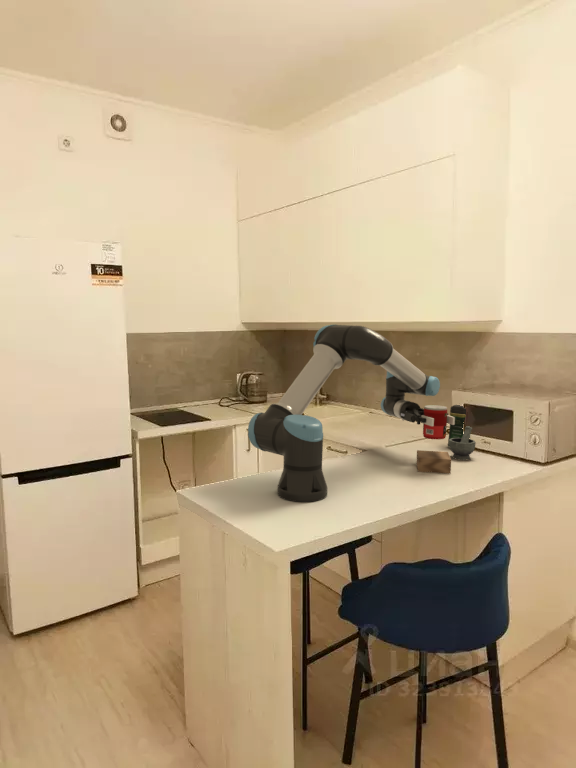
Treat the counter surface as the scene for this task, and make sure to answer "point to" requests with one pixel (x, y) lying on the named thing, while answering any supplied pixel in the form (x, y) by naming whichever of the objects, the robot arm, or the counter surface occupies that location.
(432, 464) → the block
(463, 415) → the coffee jar
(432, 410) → the canned food
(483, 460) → the counter surface
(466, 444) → the mortar and pestle
